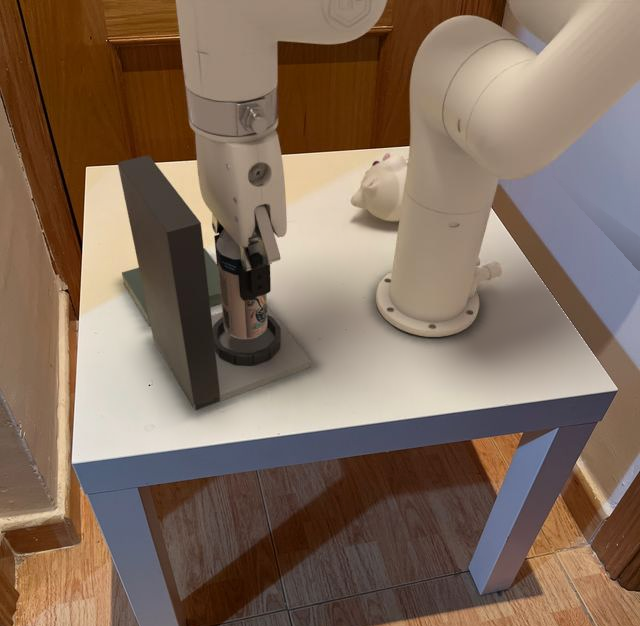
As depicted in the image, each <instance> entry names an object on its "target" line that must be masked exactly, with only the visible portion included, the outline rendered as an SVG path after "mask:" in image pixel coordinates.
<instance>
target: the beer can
mask: <svg viewBox="0 0 640 626" xmlns="http://www.w3.org/2000/svg"><path fill="white" fill-rule="evenodd" d="M253 233H256V232H255V230H254V231H253ZM216 248H217V259H218V269H219V280H220V291H221V301H222V303H221V310H222V311H221V312H223V322H224V328H225V330H226V332H227V333H228V334H229V335H231V336H232V337H234V338H238V339H245V340H246V339H253V338H256V337H258V336H260V335H261V334H263V333H264V332H265V330H266V328H267V305H268V295H267V294H265V295H262V296H258V297H255V298H252V299H249V300H246V301H243V300H242V298H241V297H240V288H239V274H238V266H240V265H242V263H241V258H240V252H239V246H238V243H236V242H235V241H234V239H233V238H232V237H231V236H230V235H229V234H228V232H227V231H226V230H225V229H223V231H222V233H221V235H220V237H219V239H218V240H217V243H216ZM248 248H249V254H250V256H251V255H252V254H253V253H256V252H260V245H259V243H256V244H252V245H249V246H248Z"/></svg>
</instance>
